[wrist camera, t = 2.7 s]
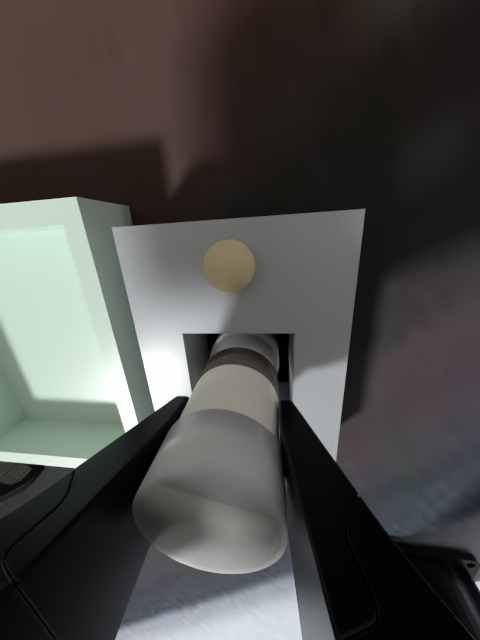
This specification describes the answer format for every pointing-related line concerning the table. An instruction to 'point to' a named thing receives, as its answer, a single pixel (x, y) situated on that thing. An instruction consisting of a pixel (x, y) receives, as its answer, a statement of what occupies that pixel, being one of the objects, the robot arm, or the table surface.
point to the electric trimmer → (16, 478)
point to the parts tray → (65, 333)
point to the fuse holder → (247, 300)
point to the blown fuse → (222, 466)
